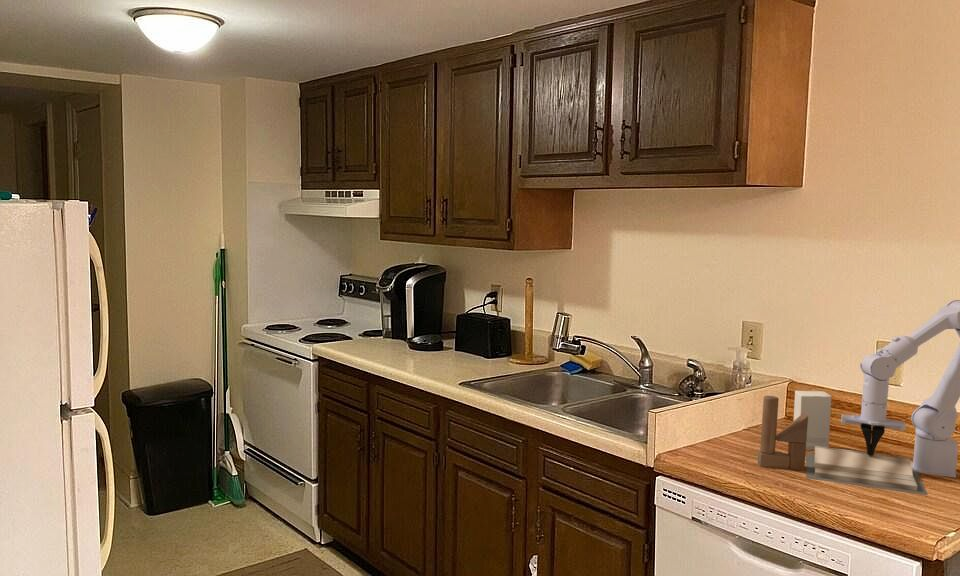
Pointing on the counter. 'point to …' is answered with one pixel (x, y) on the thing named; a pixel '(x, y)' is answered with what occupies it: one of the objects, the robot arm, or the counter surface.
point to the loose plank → (863, 460)
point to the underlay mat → (811, 475)
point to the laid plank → (865, 477)
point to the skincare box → (814, 416)
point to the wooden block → (782, 439)
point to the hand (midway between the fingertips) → (870, 454)
